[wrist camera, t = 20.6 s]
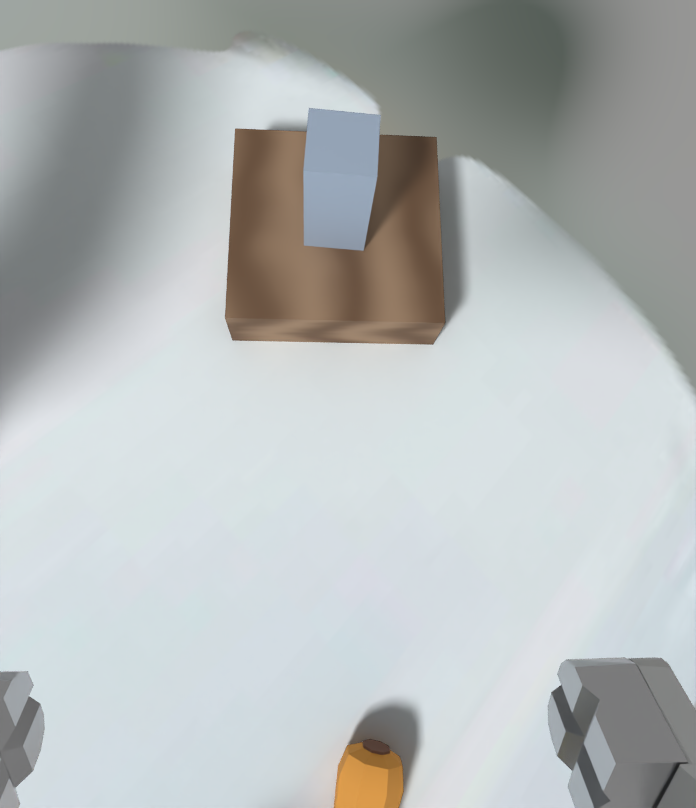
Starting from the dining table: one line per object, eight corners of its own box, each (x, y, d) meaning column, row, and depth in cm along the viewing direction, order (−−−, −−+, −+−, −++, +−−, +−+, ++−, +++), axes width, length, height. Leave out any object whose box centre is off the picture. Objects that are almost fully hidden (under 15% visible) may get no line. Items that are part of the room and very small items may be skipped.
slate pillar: (303, 245, 45) (303, 170, 37) (308, 192, 46) (308, 107, 38) (363, 250, 46) (377, 177, 37) (366, 198, 47) (380, 115, 38)
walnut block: (233, 342, 48) (225, 317, 43) (241, 168, 52) (235, 128, 48) (431, 346, 49) (445, 322, 44) (424, 175, 53) (436, 137, 49)
